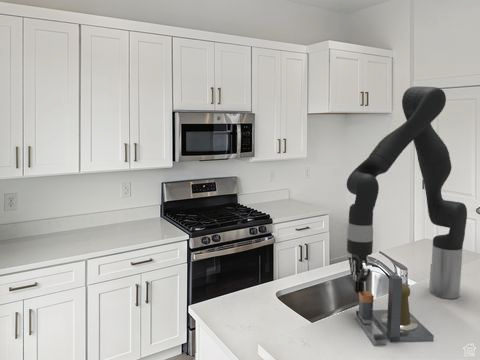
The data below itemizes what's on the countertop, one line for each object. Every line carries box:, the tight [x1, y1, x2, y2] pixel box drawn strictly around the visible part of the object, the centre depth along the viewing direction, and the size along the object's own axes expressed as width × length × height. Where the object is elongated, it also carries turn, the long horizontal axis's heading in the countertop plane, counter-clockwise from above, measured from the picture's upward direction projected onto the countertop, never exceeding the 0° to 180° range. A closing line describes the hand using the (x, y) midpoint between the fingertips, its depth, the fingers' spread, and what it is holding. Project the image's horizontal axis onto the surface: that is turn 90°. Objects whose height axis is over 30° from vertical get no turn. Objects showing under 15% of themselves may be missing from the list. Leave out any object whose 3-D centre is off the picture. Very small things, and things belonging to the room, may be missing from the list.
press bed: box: [372, 274, 435, 343], centre depth 112 cm, size 16×12×18 cm
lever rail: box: [355, 309, 387, 346], centre depth 110 cm, size 15×3×3 cm, turn 2°
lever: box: [358, 290, 375, 324], centre depth 113 cm, size 5×3×8 cm, turn 2°
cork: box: [400, 283, 411, 326], centre depth 112 cm, size 6×6×11 cm
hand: (357, 291), depth 120 cm, fingers closed
